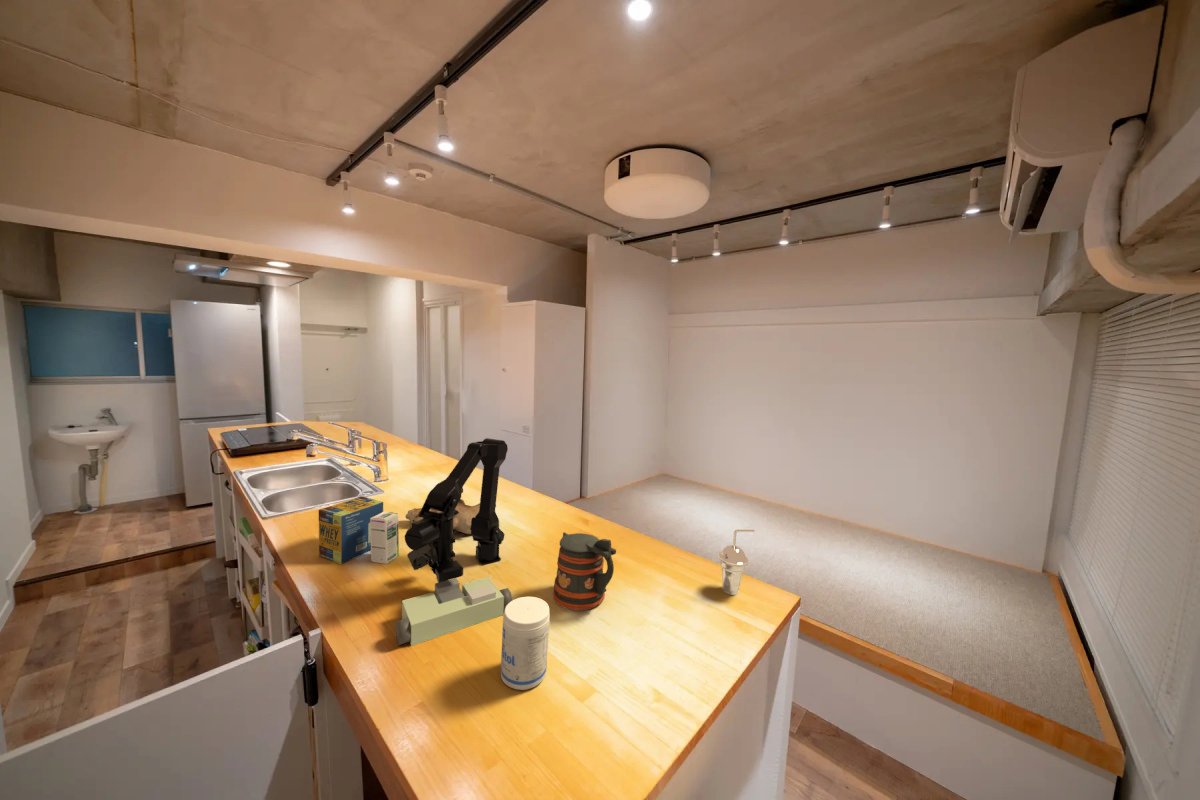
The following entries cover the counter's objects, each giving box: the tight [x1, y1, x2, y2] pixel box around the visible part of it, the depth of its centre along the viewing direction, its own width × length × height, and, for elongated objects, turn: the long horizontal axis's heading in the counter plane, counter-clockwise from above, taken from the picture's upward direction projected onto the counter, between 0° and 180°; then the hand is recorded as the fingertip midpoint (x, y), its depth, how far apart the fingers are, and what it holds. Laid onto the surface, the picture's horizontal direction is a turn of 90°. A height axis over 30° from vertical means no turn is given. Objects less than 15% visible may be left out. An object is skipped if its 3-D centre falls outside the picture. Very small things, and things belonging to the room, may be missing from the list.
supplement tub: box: [500, 596, 551, 691], centre depth 85 cm, size 10×10×15 cm
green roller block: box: [395, 576, 513, 647], centre depth 103 cm, size 27×11×6 cm, turn 126°
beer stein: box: [552, 532, 617, 611], centre depth 113 cm, size 19×15×20 cm
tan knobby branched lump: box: [405, 486, 480, 535], centre depth 156 cm, size 13×31×25 cm
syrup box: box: [370, 511, 400, 565], centre depth 129 cm, size 6×6×14 cm
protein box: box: [318, 495, 384, 565], centre depth 133 cm, size 10×15×16 cm
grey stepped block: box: [434, 577, 465, 604], centre depth 106 cm, size 6×8×6 cm
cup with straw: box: [717, 529, 756, 596], centre depth 121 cm, size 8×9×20 cm
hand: (441, 588), depth 113 cm, fingers closed
